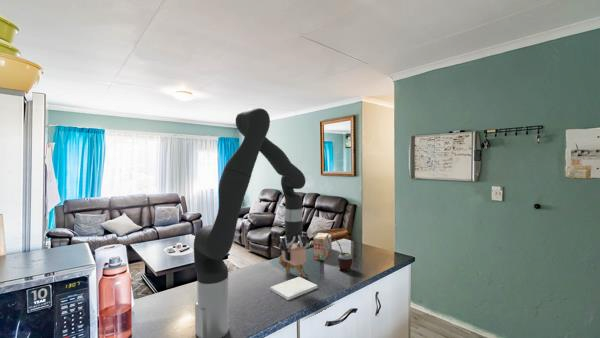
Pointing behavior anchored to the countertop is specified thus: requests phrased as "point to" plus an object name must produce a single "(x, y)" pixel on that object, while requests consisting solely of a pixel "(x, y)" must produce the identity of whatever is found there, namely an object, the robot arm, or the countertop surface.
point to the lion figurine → (288, 266)
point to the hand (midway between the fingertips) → (293, 258)
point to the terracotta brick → (296, 255)
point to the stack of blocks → (322, 246)
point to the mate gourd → (344, 260)
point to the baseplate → (293, 288)
